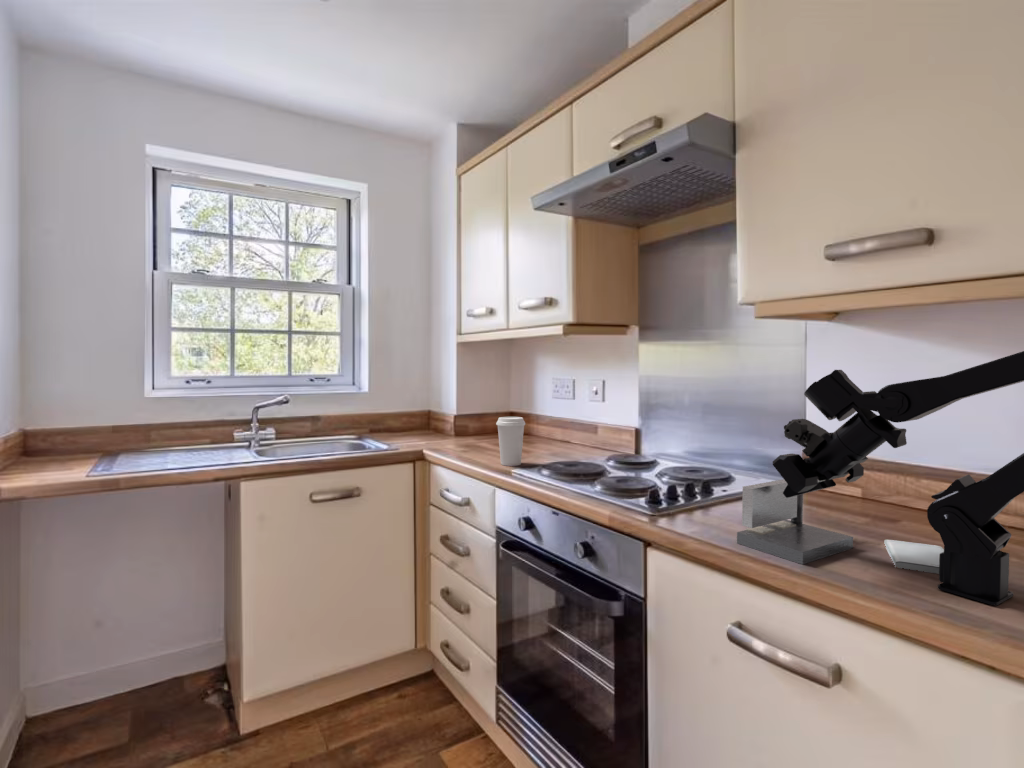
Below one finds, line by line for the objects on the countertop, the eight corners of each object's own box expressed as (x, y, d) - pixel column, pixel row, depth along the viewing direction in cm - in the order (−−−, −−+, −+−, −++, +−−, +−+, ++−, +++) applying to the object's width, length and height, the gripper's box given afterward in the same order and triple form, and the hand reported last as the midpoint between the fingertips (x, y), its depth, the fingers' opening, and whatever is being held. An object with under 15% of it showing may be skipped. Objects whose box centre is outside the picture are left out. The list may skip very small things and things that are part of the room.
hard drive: (962, 570, 80) (942, 545, 91) (895, 560, 84) (884, 537, 95) (961, 581, 80) (942, 555, 91) (894, 570, 84) (883, 547, 95)
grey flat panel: (786, 514, 103) (787, 478, 103) (796, 517, 101) (797, 480, 101) (742, 525, 96) (742, 486, 96) (752, 528, 94) (752, 488, 94)
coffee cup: (490, 463, 174) (490, 417, 174) (514, 460, 180) (514, 415, 179) (506, 467, 166) (506, 419, 166) (531, 464, 172) (531, 418, 171)
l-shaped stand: (860, 545, 94) (861, 483, 94) (802, 564, 85) (803, 496, 85) (794, 528, 104) (795, 472, 104) (736, 543, 95) (737, 482, 95)
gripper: (847, 402, 96) (787, 454, 106) (785, 406, 86) (725, 463, 96) (895, 452, 89) (826, 503, 99) (833, 463, 80) (764, 517, 90)
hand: (785, 495), depth 96 cm, fingers closed
